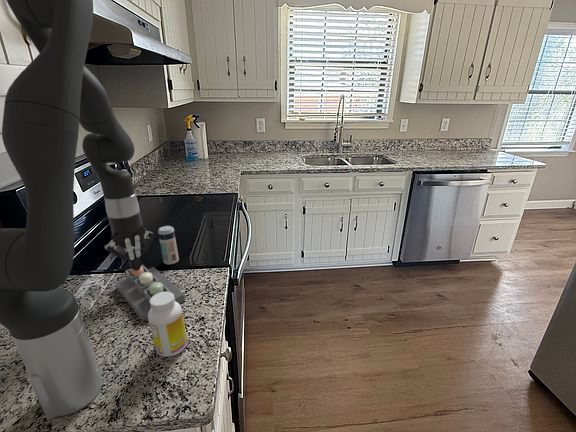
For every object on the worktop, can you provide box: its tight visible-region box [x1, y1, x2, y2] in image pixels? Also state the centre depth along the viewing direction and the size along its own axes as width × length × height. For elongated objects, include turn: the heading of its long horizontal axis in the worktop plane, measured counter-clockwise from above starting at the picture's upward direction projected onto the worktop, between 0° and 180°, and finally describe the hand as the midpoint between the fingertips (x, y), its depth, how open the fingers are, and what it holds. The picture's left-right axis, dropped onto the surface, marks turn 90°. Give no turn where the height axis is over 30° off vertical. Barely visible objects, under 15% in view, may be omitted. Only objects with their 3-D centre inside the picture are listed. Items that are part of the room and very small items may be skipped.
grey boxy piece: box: [114, 264, 186, 322], centre depth 85 cm, size 11×19×4 cm, turn 44°
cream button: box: [139, 272, 153, 286], centre depth 84 cm, size 3×3×3 cm
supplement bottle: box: [147, 292, 188, 358], centre depth 66 cm, size 7×7×13 cm
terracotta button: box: [130, 266, 144, 276], centre depth 88 cm, size 3×3×3 cm
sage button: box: [149, 282, 164, 297], centre depth 79 cm, size 3×3×3 cm
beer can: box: [157, 225, 180, 266], centre depth 99 cm, size 5×5×12 cm
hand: (136, 268), depth 88 cm, fingers closed
